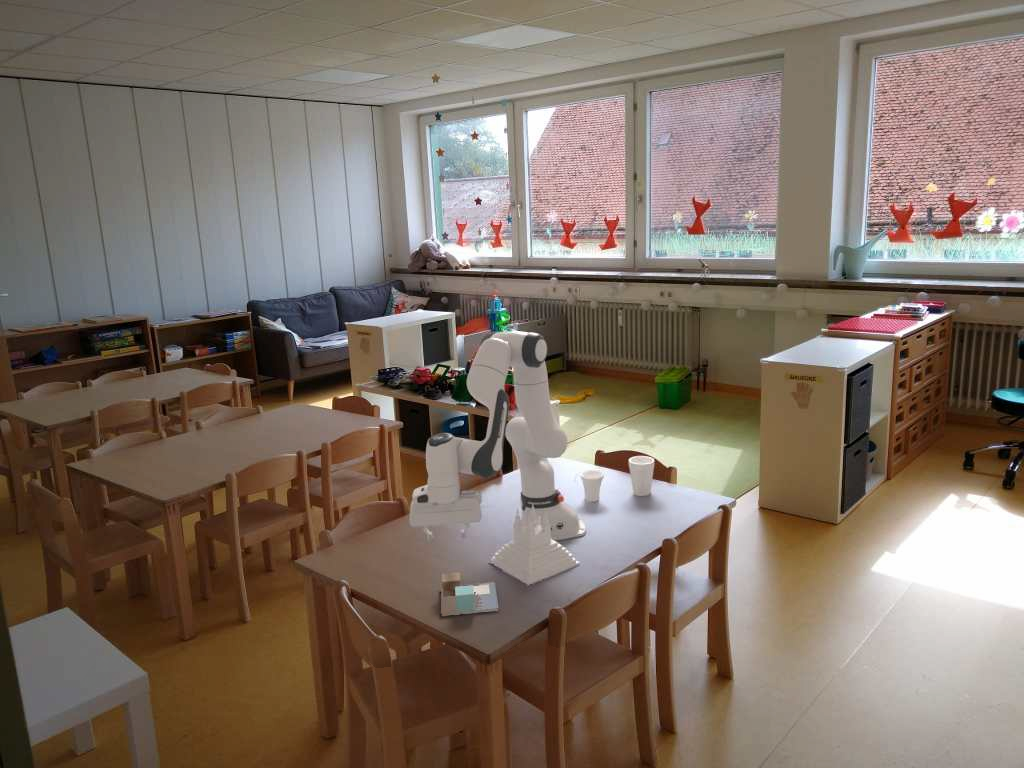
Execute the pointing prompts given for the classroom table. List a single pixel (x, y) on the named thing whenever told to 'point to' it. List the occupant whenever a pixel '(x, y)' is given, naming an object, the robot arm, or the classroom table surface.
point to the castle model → (533, 552)
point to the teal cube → (465, 598)
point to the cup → (592, 484)
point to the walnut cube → (450, 583)
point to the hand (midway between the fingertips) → (447, 537)
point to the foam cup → (641, 474)
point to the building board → (487, 596)
